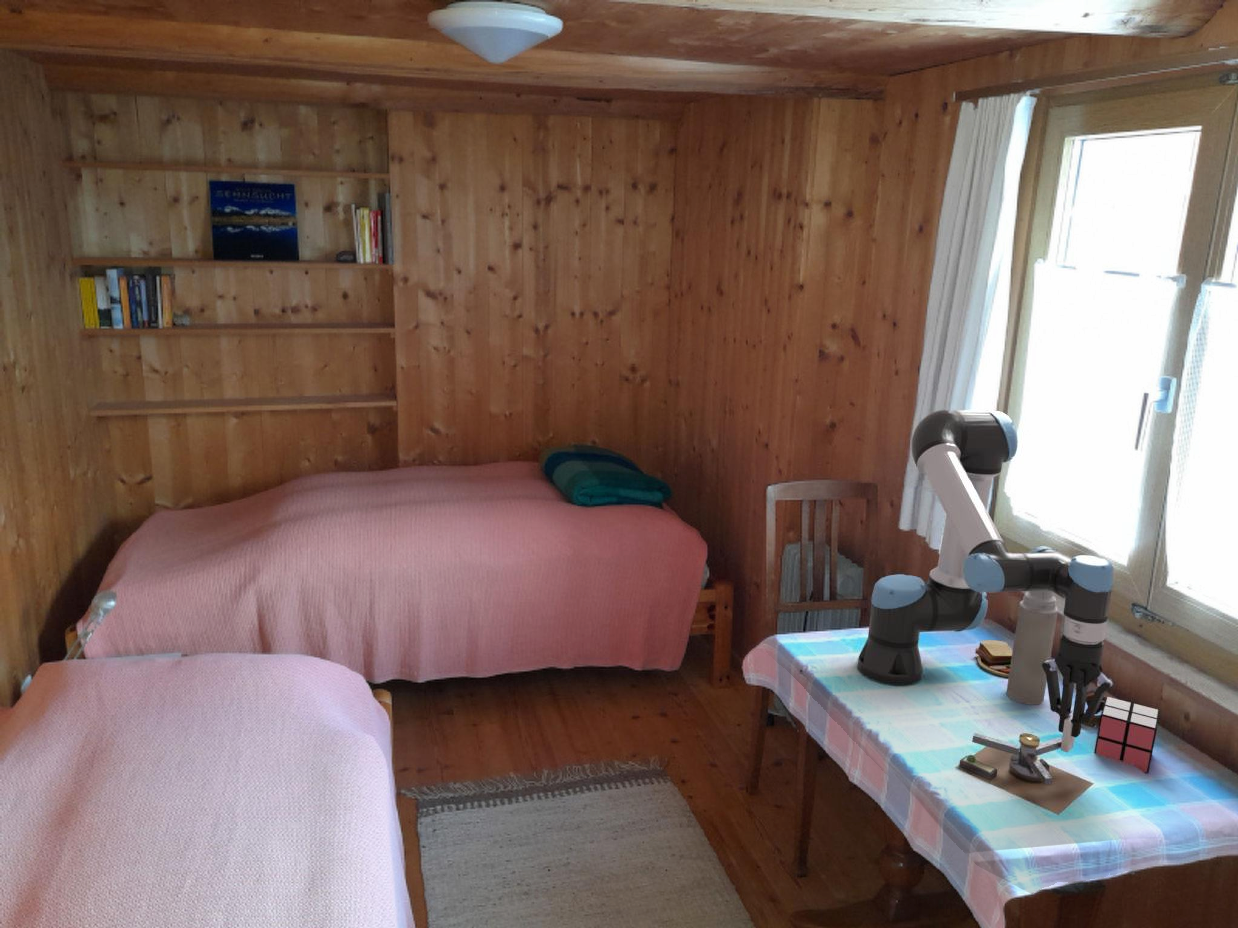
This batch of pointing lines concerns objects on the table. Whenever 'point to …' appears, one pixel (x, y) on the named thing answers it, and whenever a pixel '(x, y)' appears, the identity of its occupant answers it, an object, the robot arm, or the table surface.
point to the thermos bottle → (1032, 647)
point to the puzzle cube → (1127, 732)
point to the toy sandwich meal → (995, 657)
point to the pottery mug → (1096, 719)
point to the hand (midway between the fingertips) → (1066, 748)
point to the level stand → (996, 772)
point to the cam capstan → (1025, 756)
